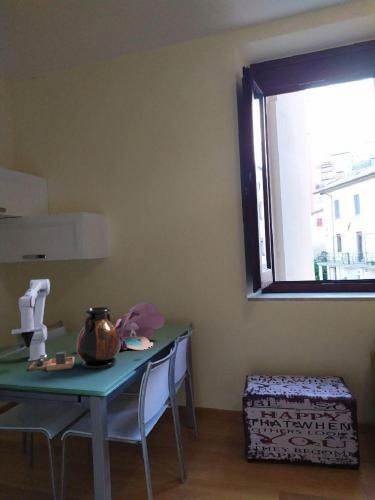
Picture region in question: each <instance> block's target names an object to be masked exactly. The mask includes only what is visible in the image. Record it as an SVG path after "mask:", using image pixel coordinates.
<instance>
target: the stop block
mask: <svg viewBox="0 0 375 500" xmlns="http://www.w3.org/2000/svg"><path fill="white" fill-rule="evenodd" d="M55 359H56V365H57V364H66V350H65V351H57V352H56V353H55Z"/></svg>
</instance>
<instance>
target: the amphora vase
mask: <svg viewBox="0 0 375 500" xmlns="http://www.w3.org/2000/svg"><path fill="white" fill-rule="evenodd" d="M111 311H112V310H111V308H110V307H106V306H103V307H102V306H100V307H99V306H98V307H91V308H87V309H85V310H84V313H85V314H87V316H88V317H86V318H85V321H84V326H83V327H82V329H81V330H80V332H79V333H78V335H77V340H76V353H77V355H78V356H79V358H80V359H81V360H82V361H83V362H82V367H83V368H84V369H86V370H92V371H94V370H95V371H97V370H98V371H99V370H105V369H108V368H111V367H113V366H115V365H116V363H117V358H116V356H117V355H118V354H119V353H120V350H121V349H120V347H121V340H120V336H119V333H118V331H117V329H116V328H115V326H116V325H115V326H114V324H113V323H112V322H111V314H110V313H109V312H111Z"/></svg>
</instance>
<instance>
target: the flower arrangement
mask: <svg viewBox="0 0 375 500" xmlns="http://www.w3.org/2000/svg"><path fill="white" fill-rule="evenodd" d="M164 324H165V318H164V315H163V314H162V313H161V312H160V311H159V309H158V306H157V305H155V304H154V303H151V302H144V301H142V302H139V303H138V304H136V305H134V306H133V307H132V308H130V309H129V312H128V313H125V314H124V315H123V316H122V318H118V319H117V321H116V323H115V328H116V329H117V331H118V333H119V336H120V340H121V347H120V350H124V351H125V350H127V349H132V350H136V351H143V350H144V349H145V350H147V349H149V348H148V347H150V348H152V347H153V346H154V342H152V341H151V342H150V339H151V338H152V337H153V336H154V333H155V331H154V330H159V329H161V328H162V327H163V326H164ZM151 346H152V347H151Z"/></svg>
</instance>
